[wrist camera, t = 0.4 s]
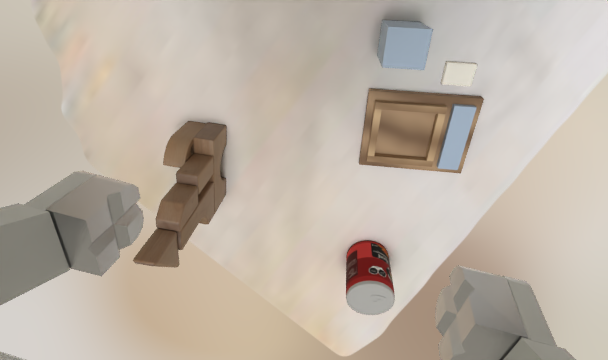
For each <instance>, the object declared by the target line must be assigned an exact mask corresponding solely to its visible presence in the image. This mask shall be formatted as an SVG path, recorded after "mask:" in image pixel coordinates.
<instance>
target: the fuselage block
mask: <svg viewBox="0 0 608 360" xmlns="http://www.w3.org/2000/svg"><path fill="white" fill-rule="evenodd" d="M432 32H433V29H432V28H430V27H428V26H426V25H425V24H423V23H421V22H411V21H393V20H382V25H381V32H380V39H379V46H378V53H377V56H378V58H379V61H380V63H381V66H382V67H385V68H400V69H415V70H424V69H425V64H426V60H427V55H428V50H429V46H430V41H431V36H432Z"/></svg>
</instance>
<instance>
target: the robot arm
mask: <svg viewBox="0 0 608 360" xmlns="http://www.w3.org/2000/svg"><path fill="white" fill-rule="evenodd" d="M139 199H140V194H139V189H138V187H136V186H135V185H133V184H130V183H126V182H123V181H119V180H115V179H112V178H108V177H104V176H101V175H95V174H92V173H89V172H85V171H77V172H74V173H73V174H71V175H69V176H68V177H66V178H65V179H63V180H61V181H60V182H58V183H57V184H55V185H54V186H52V187H51V188H49V189H48V190H46V191H44V192H43V193H41V194H40V195H38V196H37V197H35V198H34V199H32V200H30V201H29V202H27V203H26V204H24V205H22V204H14V205H10V206H6V207H2V208H0V305H2V304H4V303H6V302H8V301H10V300H12V299H13V298H16V297H18V296H20V295H22V294H24V293H25V292H27V291H29V290H31V289H33V288H35V287H37V286H39V285H41V284H43V283H45V282H47V281H49V280H51V279H53V278H55V277H57V276H59V275H61V274H63V273H65V272H67V271H69V270H70V268H71V269H75V270H79V271H83V272H87V273H91V274H95V275H99V276H102V275H103V274H104V273H105V272H106V271H107V270H108V269H109V268H110V267H111V266H112V265H113V264H114V262H115V261H116V260H117V259H118V258H119V257H120V249H122V248H125V247H127V246H129V245H131V244H132V243H133V242H134V241H135V240H136V238H137V237H138V236H139V233H140V231H141V229H142V227H143V219H144V218H143V212H142V210H141V209H140V208H139V207H138V205H137V204H136V203H137V201H138V200H139ZM449 277H450V283H451V285H450V286H447V287H445V288H443V289H442V291H441V293H440V295H439V297H438V301H437V305H436V312H435V313H436V314H435V320H436V328H437V329H438V330H439V332H440V333H441V334H442V336H443V338H442V340H441V341H440V343H439V353H440V360H576V359H575V358H574V357H573V356H572V355H571V354H570V353H569V352H568V351H567V350H566V349H563V348H560V347H557V345H556V343H555V341H554V338H553V336H552V334H551V331H550V329H549V327H548V325H547V322H546V320H545V318H544V315H543V313H542V311H541V309H540V306H539V304H538V302H537V299H536V297H535V295H534V292H533V290H532V288H531V286H530V285H529V284H528V283H527V282H526V281H523V280H519V279H514V278H510V277H505V276H500V275H495V274H491V273H487V272H483V271H479V270H475V269H470V268H467V267H463V266H456V267H455V268H454V269H453V271H452V273H451V274H450V276H449ZM0 360H25V359H22V358H19V357H16V356H12V355H9V354H6V353H3V352H0Z"/></svg>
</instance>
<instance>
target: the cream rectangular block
mask: <svg viewBox="0 0 608 360" xmlns="http://www.w3.org/2000/svg"><path fill="white" fill-rule="evenodd" d="M476 68H477V64H476V63H464V62H450V61H446V64H445V68H444V72H443V76H442V80H441V84H445V85H458V86H471V85H472V82H473V78H474V75H475V72H476Z"/></svg>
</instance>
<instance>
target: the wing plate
mask: <svg viewBox="0 0 608 360" xmlns="http://www.w3.org/2000/svg"><path fill="white" fill-rule="evenodd" d="M476 108H477V107H476V106H475V105H463V104H453V105H452V109H451V113H450V116H449V120H448V124H447V128H446V131H445V135H444V139H443V143H442V147H441V150H440V154H439V158H438V162H437V165H436V166H437V168H439V169H450V170H458V167H459V164H460V161H461V158H462V154H463V151H464V148H465V144H466V141H467V138H468V135H469V131H470V128H471V125H472V121H473V118H474V115H475V111H476Z"/></svg>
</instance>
